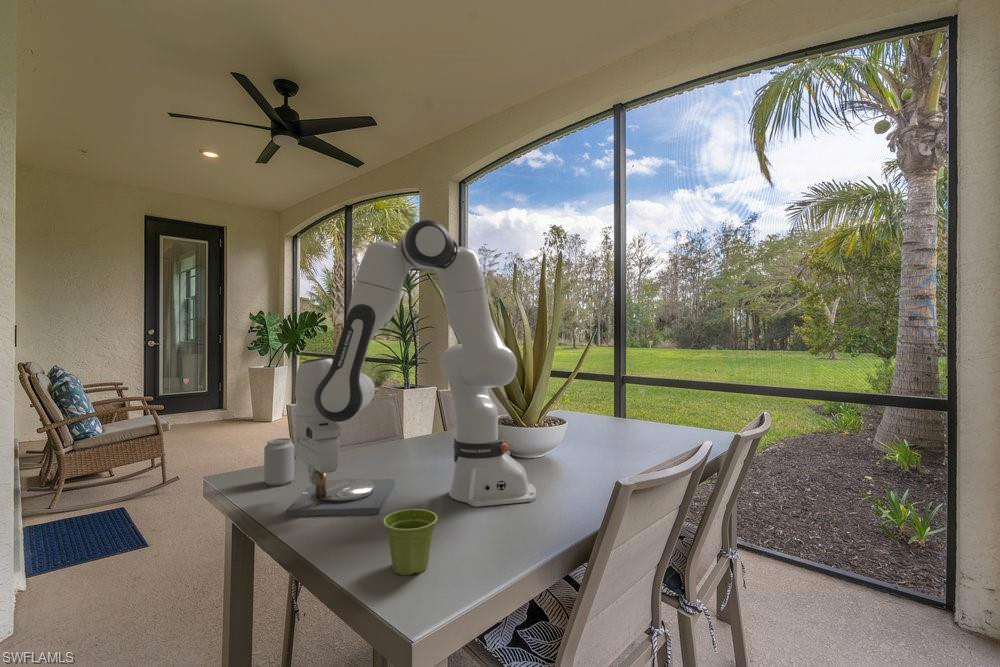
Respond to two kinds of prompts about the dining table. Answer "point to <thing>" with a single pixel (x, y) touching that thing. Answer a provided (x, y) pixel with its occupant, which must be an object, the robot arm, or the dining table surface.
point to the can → (278, 462)
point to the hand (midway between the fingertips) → (314, 483)
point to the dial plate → (363, 506)
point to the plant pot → (410, 539)
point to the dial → (341, 488)
